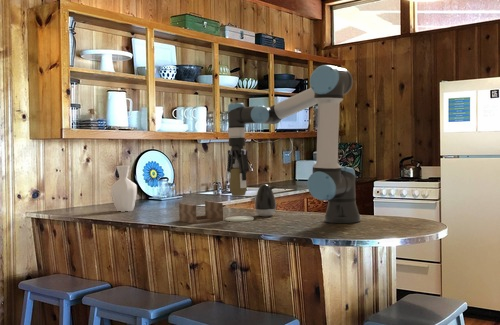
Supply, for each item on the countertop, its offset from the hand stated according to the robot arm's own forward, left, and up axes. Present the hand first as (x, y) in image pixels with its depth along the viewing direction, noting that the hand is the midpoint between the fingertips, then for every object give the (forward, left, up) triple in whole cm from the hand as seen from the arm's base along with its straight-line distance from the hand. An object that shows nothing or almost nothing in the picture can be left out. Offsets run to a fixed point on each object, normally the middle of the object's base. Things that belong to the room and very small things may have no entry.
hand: (238, 187), depth 253 cm
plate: (0, 0, -15) cm, 15 cm away
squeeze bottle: (0, 0, -4) cm, 4 cm away
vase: (+79, +27, -15) cm, 85 cm away
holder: (+11, +14, -15) cm, 23 cm away
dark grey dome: (+4, -17, -15) cm, 23 cm away
